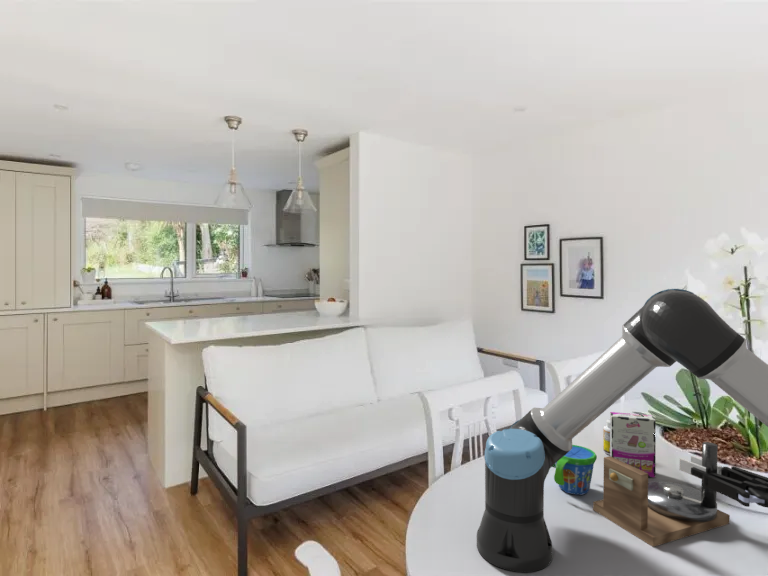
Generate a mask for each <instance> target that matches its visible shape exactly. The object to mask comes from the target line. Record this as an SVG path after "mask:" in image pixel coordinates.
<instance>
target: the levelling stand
mask: <svg viewBox="0 0 768 576" xmlns="http://www.w3.org/2000/svg"><path fill="white" fill-rule="evenodd" d="M648 483H649V477H648V473H646V472H644V471H642V470H639V469H637V468H635V467H633V466H631V465H628V464H626V463H624V462H622V461H620V460H618V459H615V458H613V457H611V456H610V455H608V456H604V457H603V494H602V495H603V497H602V498H603V499H600V500H599V499H598V500H595V501H592V502H593V503H592V510H593V511H594V512H596V513H597V514H599V515H601V516H602V517H604V518H606V519H607V520H608V521H610V522H612V523H613V524H615V525H617V526H618V527H620V528H622V529H624V530H625V531H626V532H628V533H630V534H631V535H633V536H635V537H636V538H638V539H639V540H641V541H642V542H644V543H646V544H648V545H649V546H651V547H652V548H653V547H657V546H660V545H664V544H668V543H671V542H673V541H677V540H680V539H685V538H687V537H690V536H694V535H696V534H700V533H703V532H707V531H710V530H714V529H715V528H720V527H723V526H726V525H727V526H728V525H730V521H731V520H730V518H731V515H730V514H728V513H726V512H724V511H722V510H720V509H718V508H717V517H716V518H715V519H713V520H710V521H705V522H693V521H685V520H680V519H676V518H672V517H669V516H666V515H664V514H661V513H659V512H657V511H655V510H653V509H651V508H650V507H648Z"/></svg>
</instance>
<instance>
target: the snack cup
mask: <svg viewBox="0 0 768 576" xmlns="http://www.w3.org/2000/svg"><path fill="white" fill-rule="evenodd" d="M597 459H598V458H597V454H596V452H595V451H593V450H592V449H590V448H588V447H585V446H581V445H577V444H576V445H575V444H572V449H571V450H570V451H569V452H568V453H567V454H566V455H564V456H563V457H562V458H561V459H560V460H559V461H557V462H556V463H555V464H556V467H555V471H554V476H553V479H554V482H555V483H556V484H557V485H558V487H559V488H560V489H561V490H562V491H564V492H565V493H568V494H572V495H581V496H582V495H584V494H585V495H586V494H587V493H588V492H589V491H590V488H591V482H592V478H593V472H594V465H595V462H596V461H597Z"/></svg>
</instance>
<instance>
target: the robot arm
mask: <svg viewBox="0 0 768 576" xmlns="http://www.w3.org/2000/svg"><path fill="white" fill-rule="evenodd" d="M621 333H622V335H621V337H620V338H618V340H617V341H615V342H614V343H613V344H612V345H611V346H610V347H609V348H608V349H606V350H605V351H604V352H603V353H602V354H601V355H600V356H599V357H597V359H595V361H593V362H592V363H591V364H590V365H588V367H587V368H586V369H584V370H583V371H582V373H580V374H579V375H578V376H577V377H576V378H575V379H574V380H573V381H572V382H570V383H569V384H568V385H567V386H566V387H565V388H564V389H563V390H561V392H559V393H558V394H557V395H556V396H555V397H553V398H552V400H551V401H550V402H549V403H547V404H546V405H545V406H544V407H542V408H541V407H533V408H531V410H529V411H528V412H527V413H526V414H525V415H524V416H523V417H522V418H520V419H519V420H516V421H515V422H513V424H512V425H511V426H510V427H509V428H504V429H502V430H496V431H495V432H493V433H491V434H490V435H489V436H488V438H487V439H486V442H485V449H484V462H485V463H484V472H485V473H484V481H485V482H484V485H485V487H484V489H485V490H484V495H485V496H484V499H485V501H484V502H485V505H484V507H485V508H484V511H483V515H482V517H481V521H480V525H479V527H478V529H477V532H476V549H477V551H478V552H479V554H480V556H481V557H482V558H483V559H485V560H486V561H487V562H489V563H490V564H492V565H494V566H495V567H498V568H501V569H504V570H506V571H510V572H517V573H533V572H537V571H541V570H543V569H544V568H547V567H548V566H549V565H550V564H551V563H552V561H553V542H552V539H551V536H550V532H549V530H548V525H547V523H546V520H545V517H544V507H545V506H544V503H545V502H544V501H545V498H544V496H545V494H544V493H545V491H544V490H545V488H544V487H545V481H546V478H547V477H548V474H549V472H550V469H551V468H552V467H554V466H553V465H554V464H555V463H556V462H557V461H559V460H560V459H561V458H562V457H563V456H564V455H566V454H567V453H568V452H569V451H570V450H571V449H572V445H573V439H574V438H575V437H576V436H577V435H578V434H580V433H581V432H582V431H583V430H585V428H587V427H588V426H589V425H590V424H591V423H592V422H594V421H595V420H596V419H597V418H599V417H600V416H601V415H602V414H604V412H605V411H607V410H608V409H610V407H611V406H613V405H614V404H615V403H616V402H617V401H618V400H620V399H621V398H622V397H623V396H624V395H626V394H627V393H628V392H629V391H630V390H632V388H634V387H635V386H636V385H637V384H639V383H640V382H641V381H642V380H643V379H644V378H646V376H648V375H649V374H650V373H651V372H653V371H654V370H655V369H656V368H658V367H663V368H665V367H666V368H670V367H671V366H673V365H674V364H675V363H676V362H677V363H678V364H680V365H681V366H683V367H684V368H685V369H686V370H688V371H689V372H690V373H692V375H694V376H695V377H697V379H700V380H709V381H711V382H713V384H715V386H717V387H718V388H720V389H721V390H722V391H723V392H724V393H726V394H727V395H728V396H730V398H732V399H733V400H735V401H736V403H737V404H739V405H740V406H742V407H743V408H744V409H746V411H748V412H749V413H750V414H751V415H752V416H753V417H754V418H756V419H757V420H758V421H760V422H761V423H762V424H763V425H765V426H766V427H767V428H768V363H766V362H765V361H764V360H763V359H761V358H760V357H759V356H757V355H756V354H755V353H753V352H752V351H751V350H750V349H748V347H747V339H746V338H745V337H743V336H742V335H741V334H739V333H738V332H737V331H736V330H734V328H732V327H731V325H729V323H727V322H726V321H725V320H724V319H722V317H721V316H720V315H719V314H718V313H717V312H716V310H714V309H713V307H712V306H711V305H710V304H709V303H708V301H706V300H704V298H702V297H700V296H699V295H697V294H695V293H694V292H692V291H689V290H686V289H681V288H668V289H662V290H659V291H658V292H656V293H654V294H653V295H651V296H650V297H649V298H648V299H647V300H646V301H645V302H644V304H643V305H642V306H641V308H640V309H639V310H637V311H636V312H635V313H634V314H632V316H630V318H629V319H628V320H626V321H625V322H624V324H623V325H622V332H621ZM679 471H681V472H684V473H686V474H688V475H691V476H693V477H696V478H698V479H700V480H701V481H702V480H703V485H704V486H706V487H708V488H710V489H712V490H714V491H716V492H717V493H718V494H720V495H724V496H725V497H728V498H729V499H732V500H734V501H735V502H737V503H739V504H740V505H741V506H744V507H750V503H751V504H752V503H753V504H756V505H758V506H760V507H763V508H767V509H768V477H766V476H765V475H761V474H758V473H756V472H752V471H749V470H746V469H745V468H744V469H743V468H740V467H738V466H734V465H732V466H730V467H729V466H723V467H722V466H721V465H719V464H717V473H714V472H711V468H706V467H703V466H702V457H701V458H700V457H697V456H694V455H691V456H690V460H688V459H686V458H679Z"/></svg>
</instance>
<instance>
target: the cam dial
mask: <svg viewBox="0 0 768 576" xmlns="http://www.w3.org/2000/svg"><path fill="white" fill-rule="evenodd" d="M701 447H702V448H701V453H702V454H701V455H702V456H701V459H702V466H703V467H706V468H711V472H714V473H717V465H718V448H719V447H718V444H716V443H713V442H709V441H704V442H702V446H701ZM717 493H718V492H716V491H714V490H712V489H710V488H708V487H706V486H704V485H703V480H702V479H701V490H700V489H697V488H694V487H691V486H688V485H686V484H685V485H684V484H681V483H678V482H677V483H676V482H669V481H651V482H648V507H650V508H651V509H653V510H655V511H657V512H659V513H661V514H664V515H666V516H669V517H672V518H676V519H680V520H685V521H693V522H705V521H710V520H713V519H715V518H716V517H717V509H718V503H717Z"/></svg>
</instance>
